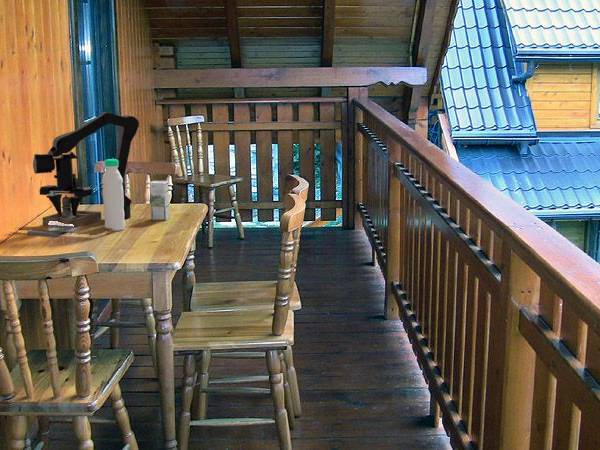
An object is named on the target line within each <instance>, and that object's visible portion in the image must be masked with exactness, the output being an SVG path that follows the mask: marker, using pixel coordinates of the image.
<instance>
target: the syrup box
mask: <svg viewBox="0 0 600 450" xmlns="http://www.w3.org/2000/svg"><path fill="white" fill-rule="evenodd" d="M149 192H150V193H149V194H150V195H149V196H150V198H149V199H150V214H151V215H150V216H151V217H150V218H151V221H167V220H169V219H170V207H169V206H170V201H169V199H170V198H169V196H170V195H169V181H168V180H151V181H150V182H149Z"/></svg>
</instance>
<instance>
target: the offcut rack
mask: <svg viewBox="0 0 600 450" xmlns="http://www.w3.org/2000/svg"><path fill="white" fill-rule="evenodd" d="M71 213H72V209H71ZM62 214H63V211H61V214H58V212H56V213H54V214H53V213H52V214H51V215H50V214H49V215H46V216H43V217H42V219H41V220H42V226H48V223H49V221H58V222H61V223H64V224H73V225H74V227H75V228H79V227H83V226H86V225H88V224H92V223H95V222H97V221H101V220H102V211H95V210H94V211H92V210H78V209H77V212H76V215H73V213H72V215H73V216H75V217H76V218H75V219H66V218H59V217H61V216H62ZM89 214H90V215H89ZM48 227H49V226H48Z"/></svg>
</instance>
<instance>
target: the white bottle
mask: <svg viewBox="0 0 600 450" xmlns="http://www.w3.org/2000/svg"><path fill="white" fill-rule="evenodd" d="M118 165H119V162H118V160H117V159H115V158H110V159H109V158H107V159H105V160H104V167H105V168H106V169H105V172H104V175H103V177H102V181H101V183H102V197H103V208H104V210H103V211H104V212H103V216H104V228H105V229H106V231H107V232H120V231H123V230H125V229H126V221H125V220H124V216H125V214H124V195H123V185H122V183H123V179H122V177H121V175H120V173H119V171H118V169H117V168H118Z"/></svg>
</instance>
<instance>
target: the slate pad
mask: <svg viewBox="0 0 600 450" xmlns="http://www.w3.org/2000/svg"><path fill="white" fill-rule="evenodd" d="M67 232H68V231H58V230H57V231H55V230H43V229H31V230H28V231H26V234H27V235H31V236H42V237H43V236H45V237H59V236H62V235H65V233H66V234H68V233H67Z"/></svg>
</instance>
